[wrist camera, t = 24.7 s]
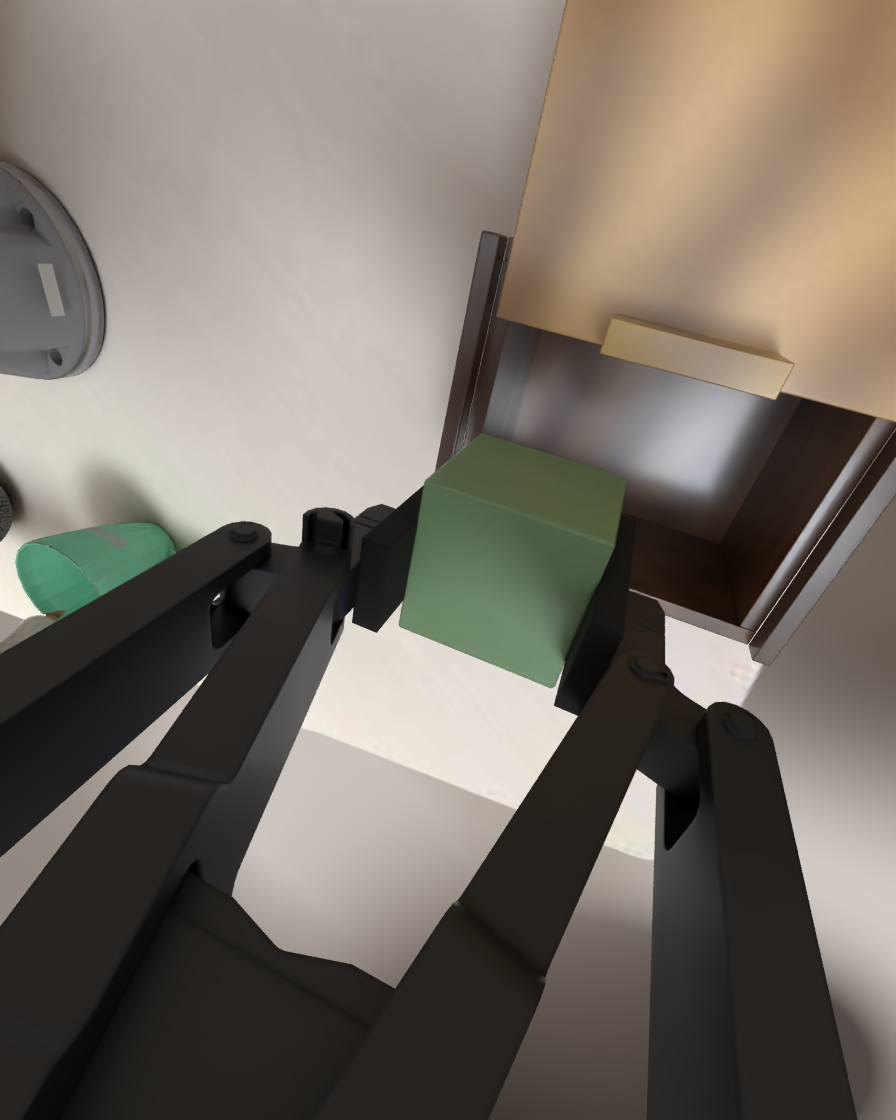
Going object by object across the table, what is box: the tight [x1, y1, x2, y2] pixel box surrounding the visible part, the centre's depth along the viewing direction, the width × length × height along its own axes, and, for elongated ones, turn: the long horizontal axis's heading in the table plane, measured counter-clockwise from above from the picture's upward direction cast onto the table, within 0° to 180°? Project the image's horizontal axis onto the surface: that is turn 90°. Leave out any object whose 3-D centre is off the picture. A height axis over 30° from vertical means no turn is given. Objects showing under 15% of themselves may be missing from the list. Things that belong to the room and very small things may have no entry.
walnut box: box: [435, 230, 896, 666], centre depth 26 cm, size 18×14×11 cm
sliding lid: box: [496, 0, 896, 422], centre depth 15 cm, size 15×14×3 cm
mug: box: [16, 522, 176, 621], centre depth 47 cm, size 15×10×10 cm
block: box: [399, 433, 627, 688], centre depth 16 cm, size 5×5×5 cm
